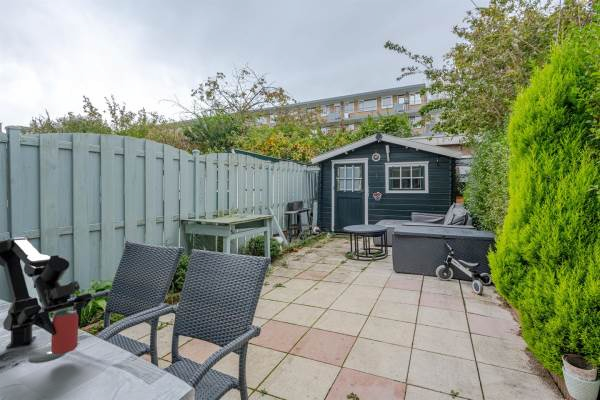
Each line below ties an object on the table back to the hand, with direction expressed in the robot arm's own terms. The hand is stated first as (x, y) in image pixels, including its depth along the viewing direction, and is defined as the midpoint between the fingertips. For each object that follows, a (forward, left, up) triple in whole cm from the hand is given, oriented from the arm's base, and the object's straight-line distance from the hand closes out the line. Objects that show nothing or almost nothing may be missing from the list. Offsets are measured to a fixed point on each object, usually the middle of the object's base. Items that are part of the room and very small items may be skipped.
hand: (67, 329), depth 93 cm
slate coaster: (-10, -7, -11) cm, 16 cm away
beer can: (-1, -1, -7) cm, 7 cm away
